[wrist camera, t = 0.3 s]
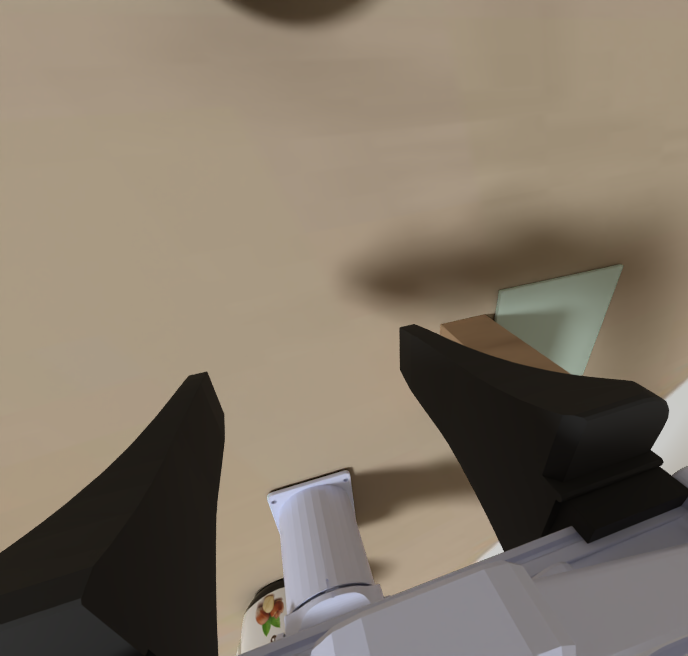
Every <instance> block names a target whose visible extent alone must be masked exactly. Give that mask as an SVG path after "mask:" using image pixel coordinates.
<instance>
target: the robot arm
mask: <svg viewBox="0 0 688 656" xmlns="http://www.w3.org/2000/svg"><path fill="white" fill-rule="evenodd" d="M400 371H401V373H402V375H403V377H404V379H405V381H406V382H407V384H408V386H409V388H410V390H411V391H412V393H413V394H414V396H415V397H416V398H417V400H418V401H419V403H420V404H421V406H422V407H423V408H424V410H425V411H426V413H427V414H428V415H429V417H430V418H431V419H432V421H433V422H434V424H435V425H436V426H437V428H438V429H439V431H440V432H441V433H442V435H443V436H444V438H445V439H446V441H447V443H448V444H449V446H450V448H451V449H452V451H453V453H454V455H455V456H456V458H457V460H458V462H459V463H460V465H461V467H462V469H463V471H464V473H465V474H466V476H467V478H468V480H469V482H470V484H471V486H472V487H473V489H474V491H475V493H476V495H477V497H478V499H479V501H480V503H481V505H482V507H483V509H484V511H485V513H486V515H487V517H488V519H489V521H490V523H491V525H492V527H493V529H494V531H495V533H496V536H497V538H498V540H499V542H500V544H501V546H502V548H503V550H504V552H503V553H501V554H498V555H495V556H493V557H490V558H488V559H485V560H482V561H480V562H477V563H475V564H472V565H469V566H467V567H464V568H462V569H459V570H457V571H454V572H451V573H449V574H446V575H444V576H441V577H438V578H436V579H433V580H431V581H428V582H426V583H423V584H420V585H418V586H415V587H413V588H410V589H408V590H405V591H402V592H400V593H397V594H395V595H392V596H390V595H388V596H385V597H384V596H383V593H382V590H381V587H380V584H375V583H374V579H373V576H372V572H371V569H370V566H369V562H368V559H367V556H366V552H365V549H364V545H363V542H362V539H361V535H360V532H359V529H358V525H357V522H356V516H355V508H354V500H353V493H352V485H351V477H350V473H349V471H347V470H345V471H341V472H338V473H334V474H331V475H328V476H324V477H321V478H318V479H314V480H311V481H308V482H304V483H301V484H298V485H294V486H291V487H288V488H284V489H281V490H278V491H274V492H271V493H269V494H268V495H267V501H268V503H269V506H270V509H271V511H272V514H273V517H274V520H275V522H276V525H277V528H278V530H279V533H280V539H281V550H282V562H283V573H284V585H285V596H286V607H287V615H285V616H284V624H285V633H281V634H278V635H277V636H276V638H275V641H273V642H271V643H268V644H266V645H263V646H260V647H258V648H255V649H253V650H250V651H248V652H245V653H242V654H240V655H237V656H688V466H686V467H684V468H682V469H680V470H678V471H677V472H676V473H674V474H673V475H672V476H671V475H670V474H669V473H667V472H666V471H665V470H663V469H662V468H661V467H659V466H661V465H662V464H663V460H662V458H661V457H659V456H658V455H656V454H655V453H654V452H652V451H651V448H652V446H653V445H654V443H655V441H656V439H657V438H658V436H659V434H660V432H661V431H662V429H663V427H664V425H665V423H666V421H667V419H668V414H669V408H668V405H667V402H666V401H665V400H664V399H662V398H661V397H659V396H657V395H656V394H654V393H652V392H651V391H649V390H647V389H646V388H644V387H642V386H641V385H639V384H637V383H636V382H633V381H626V380H616V379H605V378H595V377H586V376H579V375H573V374H566V373H560V372H555V371H549V370H544V369H540V368H535V367H531V366H526V365H522V364H518V363H514V362H511V361H508V360H504V359H501V358H497V357H494V356H491V355H488V354H485V353H483V352H480V351H477V350H475V349H472V348H469V347H467V346H464V345H462V344H459V343H457V342H455V341H452V340H450V339H448V338H445V337H443V336H441V335H439V334H437V333H434V332H432V331H430V330H427V329H425V328H423V327H420V326H418V325H415V324H413V325H408V326H404V327H400ZM224 442H225V425H224V413H223V410H222V408H221V405H220V402H219V400H218V397H217V395H216V392H215V390H214V387H213V385H212V382H211V380H210V377H209V375H208V372H203V373H199V374H194V375H190V376H188V377H187V379H186V380H185V381H184V382H183V383H182V385H181V386H180V387H179V388H178V390H177V391H176V392H175V394H174V395H173V396H172V397H171V399H170V400H169V401H168V402H167V404H166V405H165V406H164V407H163V409H162V410H161V411H160V412H159V414H158V415H157V416H156V417H155V418H154V420H153V421H152V422H151V423H150V424H149V425H148V426H147V427H146V429H145V430H144V431H143V432H142V433H141V434H140V435H139V436H138V438H137V439H136V440H135V441H134V442H133V443H132V444H131V445H130V446H129V447H128V448H127V449H126V450H125V451H124V452H123V453H122V454H121V455H120V456H119V457H118V458H117V459H116V460H115V461H114V462H113V463H112V464H111V465H110V466H109V467H108V468H107V469H106V470H105V471H104V472H102V473H101V474H100V475H99V476H98V477H97V478H96V479H94V480H93V481H92V482H91V483H90V484H89V485H87V486H86V487H85V488H84V489H83V490H82V491H80V492H79V493H78V494H77V495H76V496H75V497H73V498H72V499H71V500H70V501H69V502H68V503H66V504H65V505H64V506H63V507H61V508H60V509H59V510H57V511H56V512H55V513H54V514H52V515H51V516H50V517H48V518H47V519H46V520H45V521H43V522H42V523H41V524H39V525H38V526H37V527H35V528H34V529H33V530H31V531H30V532H29V533H27V534H26V535H25V536H23V537H22V538H20V539H19V540H18V541H16V542H15V543H14V544H12V545H11V546H9V547H8V548H7V549H5V550H4V551H2V552H1V553H0V656H218V638H217V608H216V513H217V500H218V492H219V484H220V476H221V468H222V459H223V451H224Z"/></svg>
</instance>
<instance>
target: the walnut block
mask: <svg viewBox="0 0 688 656" xmlns="http://www.w3.org/2000/svg"><path fill="white" fill-rule="evenodd" d="M440 335H441V336H443V337H445V338H448V339H450V340H452V341H455V342H457V343H459V344H462V345H464V346H467V347H469V348H472V349H475V350H477V351H480V352H483V353H485V354H488V355H491V356H494V357H497V358H501V359H504V360H508V361H511V362H514V363H518V364H522V365H526V366H531V367H535V368H540V369H544V370H549V371H555V372H560V373H566V374H570V373H569V372H567V371H566V370H564V369H563V368H562V367H560V366H559V365H557V364H556V363H554V362H553V361H551V360H550V359H549V358H547V357H546V356H544V355H543V354H541V353H540V352H538V351H537V350H535V349H534V348H533V347H531V346H530V345H528V344H527V343H525V342H524V341H522V340H521V339H520V338H518V337H517V336H515V335H514V334H512V333H511V332H509V331H508V330H506V329H505V328H504V327H502V326H501V325H499V324H498V323H496V322H495V321H493V320H492V319H491V318H489V317H488V316H486V315H485V314H484V315H480V316H475V317H471V318H466V319H462V320H458V321H453V322H449V323H444V324H441V327H440Z"/></svg>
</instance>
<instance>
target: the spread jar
mask: <svg viewBox="0 0 688 656" xmlns="http://www.w3.org/2000/svg"><path fill="white" fill-rule="evenodd" d="M285 615H287V607H286V596H285V585H284V579H281V580H278V581H276V582H274V583H271V584H270V585H268V586H266V587H265V588H264V589H262V590H261V591H260V592H259V593H258V594H257V595H256V597H255V598H254V599H253V600H252V602H251V603H250V605H249V606H248V608H247V610H246V613H245V615H244V619H243V624H242V632H241V640H240V643H239V646H238V650H237V654H236V656H237V655H240V654H242V653H245V652H248V651H250V650H253V649H255V648H258V647H260V646H263V645H266V644H268V643H271V642H273V641H275V638H276V636H277V635H278V634H281V633H285V624H284V616H285Z"/></svg>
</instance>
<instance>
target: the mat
mask: <svg viewBox="0 0 688 656" xmlns="http://www.w3.org/2000/svg"><path fill="white" fill-rule="evenodd" d="M623 266H624V265H621V264H619V265H615V266H610V267H605V268H601V269H596V270H591V271H587V272H582V273H577V274H573V275H568V276H563V277H559V278H554V279H549V280H545V281H540V282H535V283H531V284H526V285H521V286H516V287H512V288H507V289H502V290H499V295H498V301H497V307H496V312H495V318H494V321H495V322H496V323H498V324H499V325H501V326H502V327H504V328H505V329H506V330H508V331H509V332H511V333H512V334H514V335H515V336H517V337H518V338H520V339H521V340H522V341H524V342H525V343H527V344H528V345H530V346H531V347H533V348H534V349H535V350H537V351H538V352H540V353H541V354H543V355H544V356H546V357H547V358H549V359H550V360H551V361H553V362H554V363H556V364H557V365H559V366H560V367H562V368H563V369H564V370H566V371H567V372H569V373H570V374H573V375H583V373H584V370H585V368H586V365H587V362H588V360H589V357H590V354H591V352H592V349H593V346H594V344H595V341H596V338H597V336H598V333H599V330H600V328H601V325H602V322H603V319H604V317H605V314H606V311H607V309H608V306H609V303H610V301H611V298H612V295H613V293H614V290H615V287H616V285H617V282H618V279H619V277H620V274H621V271H622V269H623Z"/></svg>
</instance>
